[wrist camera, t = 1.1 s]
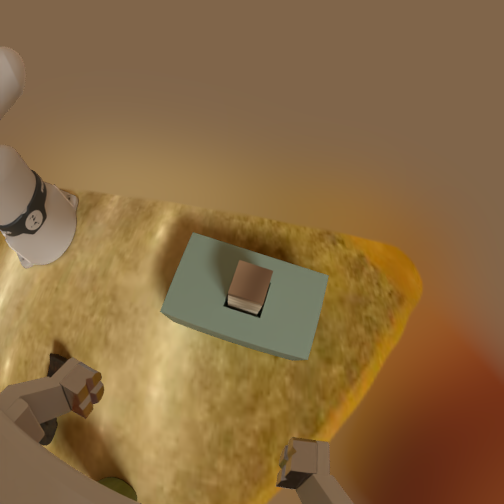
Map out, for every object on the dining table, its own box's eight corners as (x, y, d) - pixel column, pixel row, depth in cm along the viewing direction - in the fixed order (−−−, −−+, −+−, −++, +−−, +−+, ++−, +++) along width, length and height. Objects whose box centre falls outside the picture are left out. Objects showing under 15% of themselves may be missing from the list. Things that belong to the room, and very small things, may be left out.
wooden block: (228, 309, 40) (227, 292, 30) (236, 283, 41) (239, 259, 32) (254, 318, 39) (263, 303, 30) (262, 292, 41) (273, 270, 32)
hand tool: (59, 352, 39) (45, 350, 34) (75, 362, 39) (62, 361, 34) (40, 435, 32) (26, 438, 27) (55, 446, 31) (42, 451, 27)
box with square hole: (173, 321, 43) (160, 311, 35) (198, 255, 48) (192, 232, 39) (292, 360, 42) (307, 359, 34) (311, 291, 47) (328, 275, 38)
